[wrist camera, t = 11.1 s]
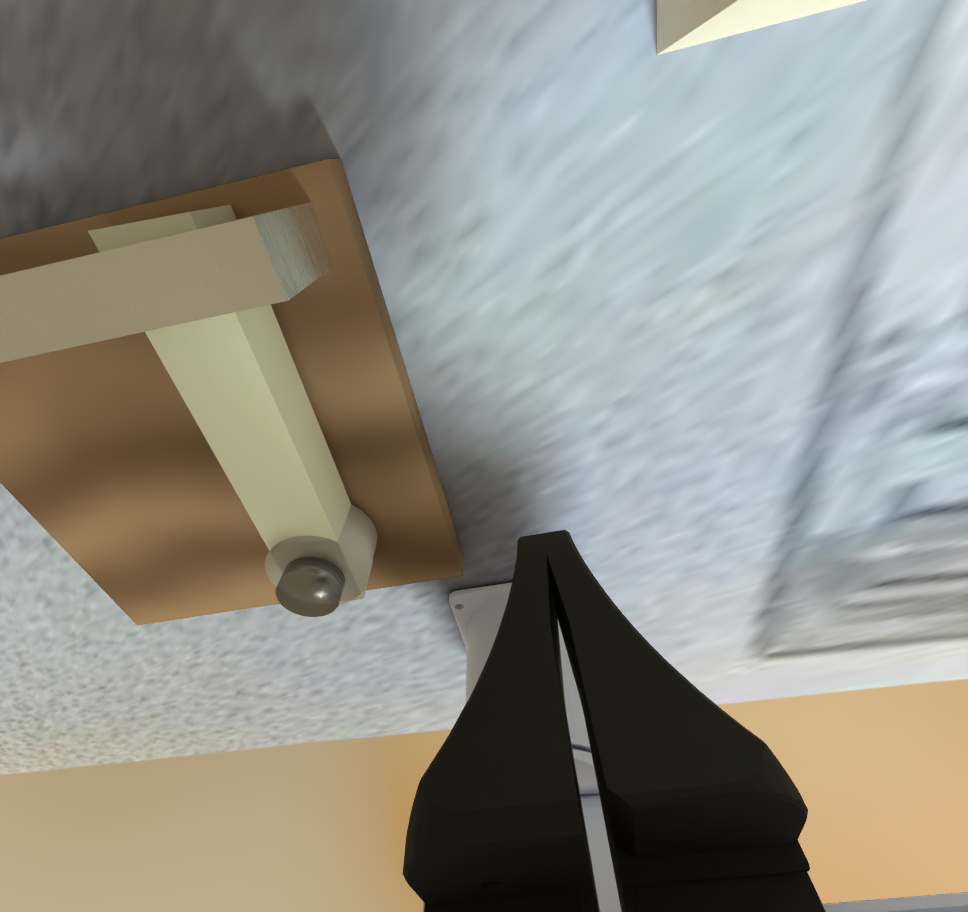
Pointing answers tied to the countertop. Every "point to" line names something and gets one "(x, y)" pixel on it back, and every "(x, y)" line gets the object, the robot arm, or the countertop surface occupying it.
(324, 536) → the bar
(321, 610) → the cylinder
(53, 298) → the bar
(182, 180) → the countertop surface
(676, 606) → the countertop surface
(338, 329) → the base board
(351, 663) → the countertop surface
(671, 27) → the milk
